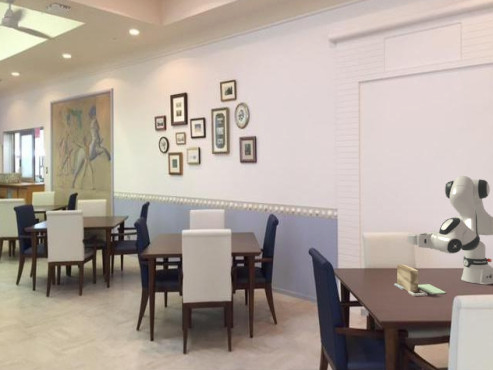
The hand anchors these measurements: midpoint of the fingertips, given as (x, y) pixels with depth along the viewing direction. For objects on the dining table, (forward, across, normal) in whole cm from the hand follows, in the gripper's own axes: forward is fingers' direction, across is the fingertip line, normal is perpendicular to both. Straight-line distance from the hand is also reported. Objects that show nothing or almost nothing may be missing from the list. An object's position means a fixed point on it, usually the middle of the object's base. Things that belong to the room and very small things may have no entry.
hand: (419, 235), depth 222 cm
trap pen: (+2, 0, +32) cm, 32 cm away
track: (+15, 0, +32) cm, 35 cm away
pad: (+7, -11, +32) cm, 35 cm away
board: (+12, 0, +32) cm, 34 cm away
